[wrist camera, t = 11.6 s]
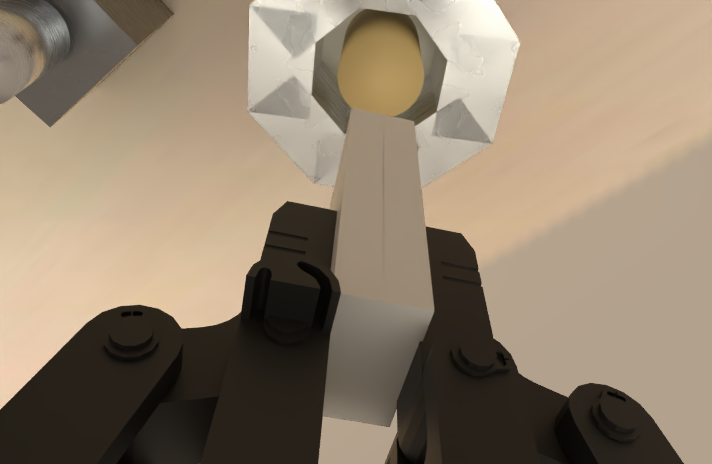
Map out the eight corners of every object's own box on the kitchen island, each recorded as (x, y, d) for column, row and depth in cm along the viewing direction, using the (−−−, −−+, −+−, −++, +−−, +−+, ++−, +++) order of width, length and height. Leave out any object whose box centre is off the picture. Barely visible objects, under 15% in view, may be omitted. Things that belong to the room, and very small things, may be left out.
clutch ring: (221, 22, 24) (193, 53, 20) (405, -142, 20) (409, -136, 17) (359, 181, 28) (355, 229, 24) (534, 65, 24) (558, 102, 21)
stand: (-6, -10, 28) (-150, 48, 21) (71, -99, 26) (-59, -69, 18) (95, 87, 31) (-1, 171, 23) (173, 14, 29) (95, 81, 21)
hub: (292, -1, 28) (258, 61, 21) (396, -89, 26) (400, -56, 18) (370, 97, 30) (364, 183, 23) (471, 24, 28) (501, 94, 21)
